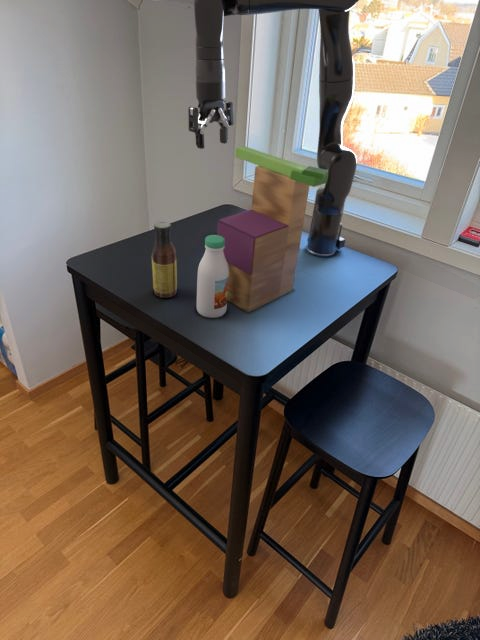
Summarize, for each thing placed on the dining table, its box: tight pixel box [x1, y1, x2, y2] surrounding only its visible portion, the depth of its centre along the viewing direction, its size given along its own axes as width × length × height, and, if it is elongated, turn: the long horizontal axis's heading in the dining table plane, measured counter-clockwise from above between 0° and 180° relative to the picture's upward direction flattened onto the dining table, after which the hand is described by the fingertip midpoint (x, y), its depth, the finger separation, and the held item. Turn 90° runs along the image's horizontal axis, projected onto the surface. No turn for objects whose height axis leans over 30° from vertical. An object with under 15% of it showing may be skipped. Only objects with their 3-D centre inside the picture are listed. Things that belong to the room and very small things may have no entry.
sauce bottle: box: [151, 220, 178, 299], centre depth 119 cm, size 6×6×20 cm
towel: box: [216, 209, 288, 275], centre depth 118 cm, size 12×12×10 cm
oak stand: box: [227, 165, 311, 313], centre depth 120 cm, size 13×18×32 cm
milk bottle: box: [196, 234, 229, 319], centre depth 114 cm, size 8×8×20 cm
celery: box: [234, 146, 328, 188], centre depth 115 cm, size 27×6×3 cm, turn 45°
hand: (212, 145), depth 128 cm, fingers open, 8 cm apart
